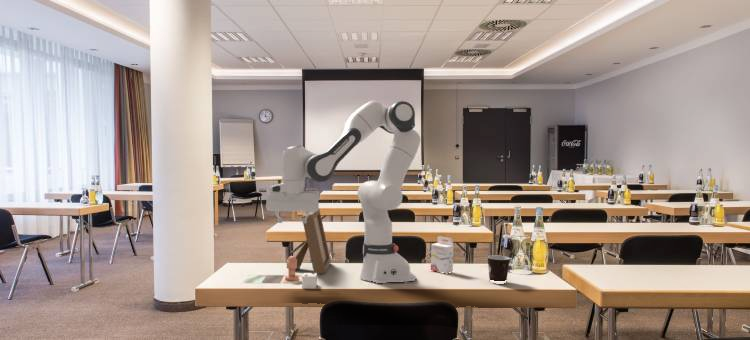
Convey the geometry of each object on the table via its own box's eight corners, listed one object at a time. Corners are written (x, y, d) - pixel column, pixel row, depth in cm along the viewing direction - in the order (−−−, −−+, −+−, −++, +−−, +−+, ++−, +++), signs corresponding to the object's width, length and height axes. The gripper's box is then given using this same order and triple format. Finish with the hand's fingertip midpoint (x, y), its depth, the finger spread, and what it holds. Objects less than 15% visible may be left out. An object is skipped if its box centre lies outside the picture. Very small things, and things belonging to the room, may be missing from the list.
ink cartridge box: (429, 271, 215) (430, 237, 214) (436, 269, 218) (437, 235, 218) (446, 274, 209) (447, 239, 208) (453, 272, 213) (454, 238, 212)
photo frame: (330, 263, 225) (331, 208, 224) (325, 275, 203) (325, 214, 202) (298, 262, 225) (298, 207, 224) (288, 274, 204) (289, 213, 203)
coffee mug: (488, 278, 204) (488, 254, 203) (509, 281, 201) (510, 256, 200) (484, 285, 193) (485, 260, 192) (507, 288, 190) (508, 262, 189)
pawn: (299, 277, 198) (299, 254, 197) (297, 280, 193) (298, 257, 192) (285, 277, 198) (286, 254, 197) (284, 280, 192) (284, 257, 192)
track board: (304, 276, 202) (304, 274, 202) (300, 285, 188) (300, 284, 188) (247, 275, 201) (247, 274, 201) (239, 284, 187) (239, 283, 187)
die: (316, 286, 188) (316, 272, 188) (315, 289, 183) (315, 276, 183) (303, 286, 188) (303, 272, 188) (302, 289, 183) (302, 276, 183)
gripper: (320, 187, 197) (319, 222, 198) (268, 186, 196) (267, 221, 197) (319, 188, 191) (318, 224, 192) (265, 187, 190) (264, 223, 191)
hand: (292, 222), depth 194 cm, fingers open, 8 cm apart
